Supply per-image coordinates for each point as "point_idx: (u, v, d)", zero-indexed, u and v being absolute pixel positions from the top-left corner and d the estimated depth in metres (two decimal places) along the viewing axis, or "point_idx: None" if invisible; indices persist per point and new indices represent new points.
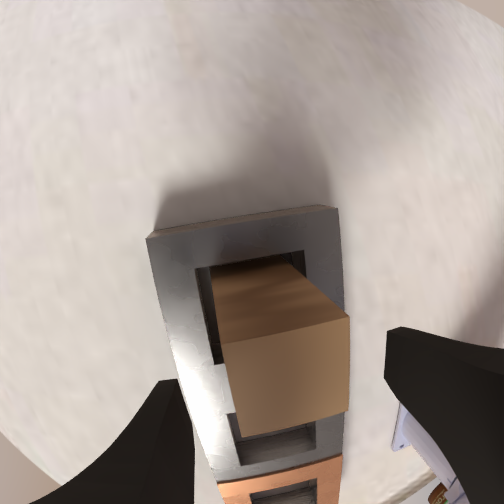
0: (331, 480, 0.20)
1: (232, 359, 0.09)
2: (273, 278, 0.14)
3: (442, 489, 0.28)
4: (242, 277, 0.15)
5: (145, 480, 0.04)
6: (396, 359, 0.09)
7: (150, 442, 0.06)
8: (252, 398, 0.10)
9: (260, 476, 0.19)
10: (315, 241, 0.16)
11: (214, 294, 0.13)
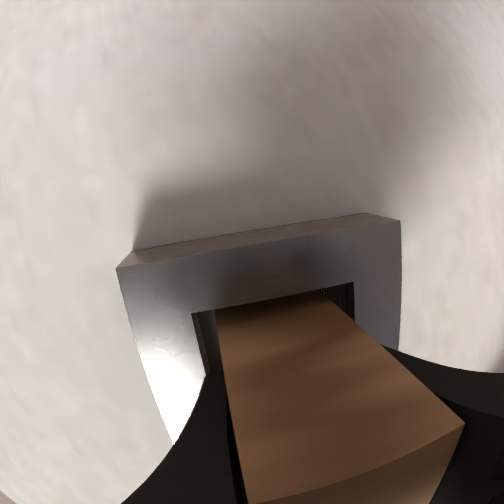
0: None
1: None
2: (316, 332, 0.09)
3: None
4: (265, 326, 0.10)
5: (231, 472, 0.04)
6: None
7: (220, 434, 0.06)
8: None
9: None
10: (369, 269, 0.10)
11: (224, 363, 0.08)
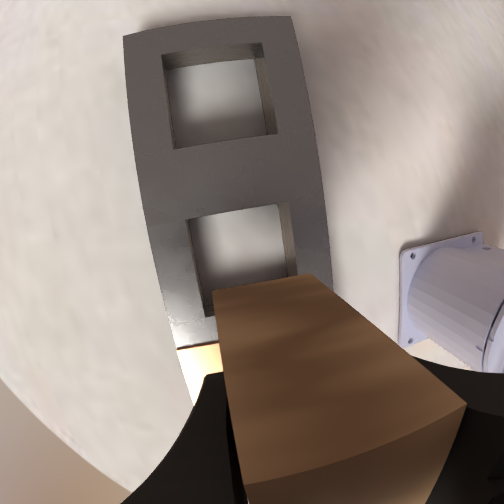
0: None
1: (264, 499, 0.04)
2: (314, 317, 0.09)
3: None
4: (263, 312, 0.10)
5: (230, 472, 0.04)
6: None
7: (220, 434, 0.06)
8: None
9: None
10: (272, 37, 0.14)
11: (221, 347, 0.08)
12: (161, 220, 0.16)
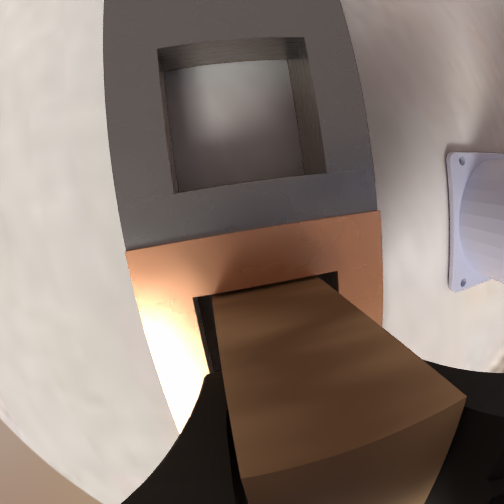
0: (365, 293, 0.12)
1: (262, 494, 0.04)
2: (312, 312, 0.09)
3: None
4: (262, 308, 0.10)
5: (231, 472, 0.04)
6: None
7: (220, 434, 0.06)
8: None
9: (216, 235, 0.11)
10: None
11: (219, 342, 0.08)
12: (124, 51, 0.09)
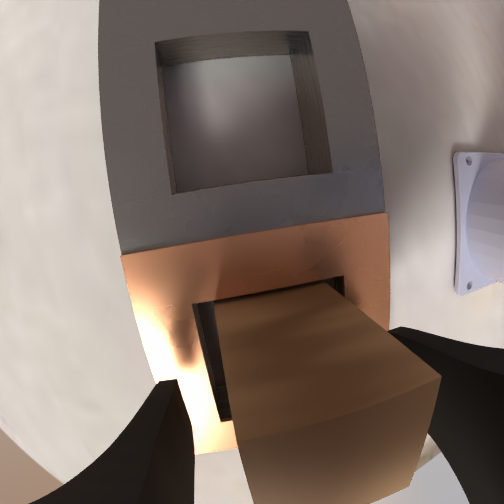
0: (372, 298, 0.12)
1: (255, 459, 0.05)
2: (304, 303, 0.10)
3: None
4: (258, 300, 0.11)
5: (145, 480, 0.04)
6: None
7: (150, 442, 0.06)
8: (282, 499, 0.05)
9: (217, 238, 0.10)
10: None
11: (219, 329, 0.09)
12: (120, 44, 0.08)
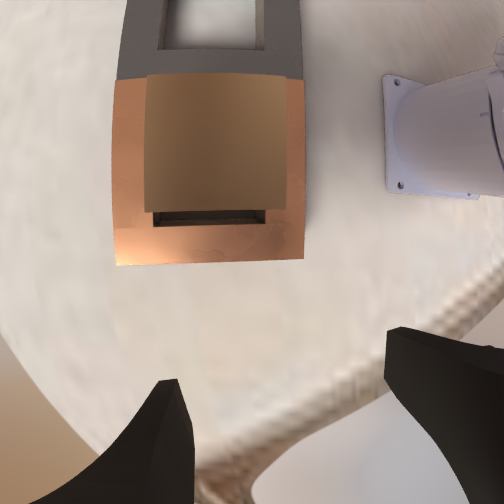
0: (289, 138, 0.15)
1: (154, 92, 0.08)
2: None
3: None
4: None
5: (145, 480, 0.04)
6: (396, 359, 0.09)
7: (150, 442, 0.06)
8: (165, 147, 0.08)
9: None
10: None
11: None
12: None
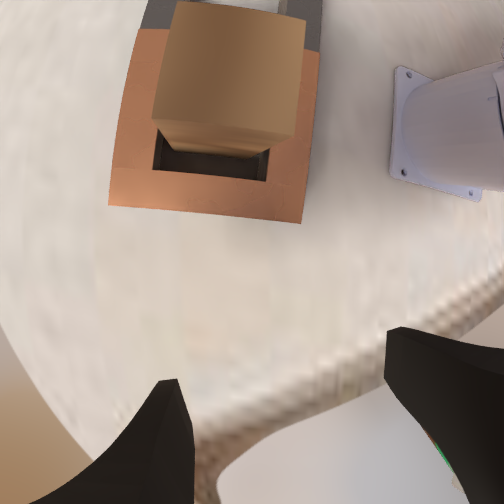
0: (299, 103, 0.14)
1: (181, 15, 0.07)
2: None
3: None
4: None
5: (145, 480, 0.04)
6: (396, 359, 0.09)
7: (150, 442, 0.06)
8: (183, 61, 0.08)
9: None
10: None
11: None
12: None
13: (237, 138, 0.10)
